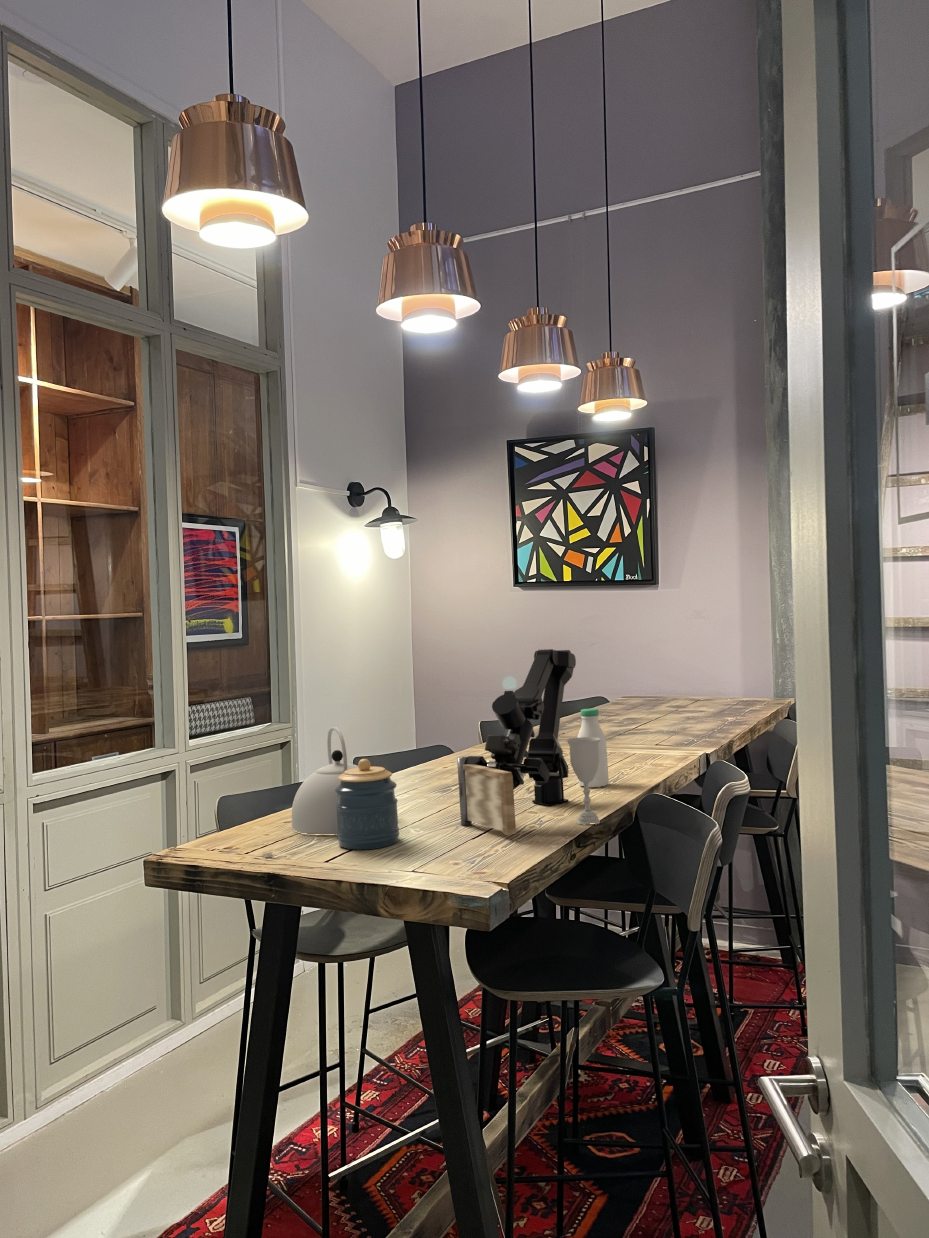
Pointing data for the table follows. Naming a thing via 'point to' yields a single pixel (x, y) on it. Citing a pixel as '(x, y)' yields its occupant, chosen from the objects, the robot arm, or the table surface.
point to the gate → (490, 797)
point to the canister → (366, 808)
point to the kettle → (320, 794)
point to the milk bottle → (593, 729)
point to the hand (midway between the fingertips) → (494, 802)
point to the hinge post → (462, 792)
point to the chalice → (585, 770)
